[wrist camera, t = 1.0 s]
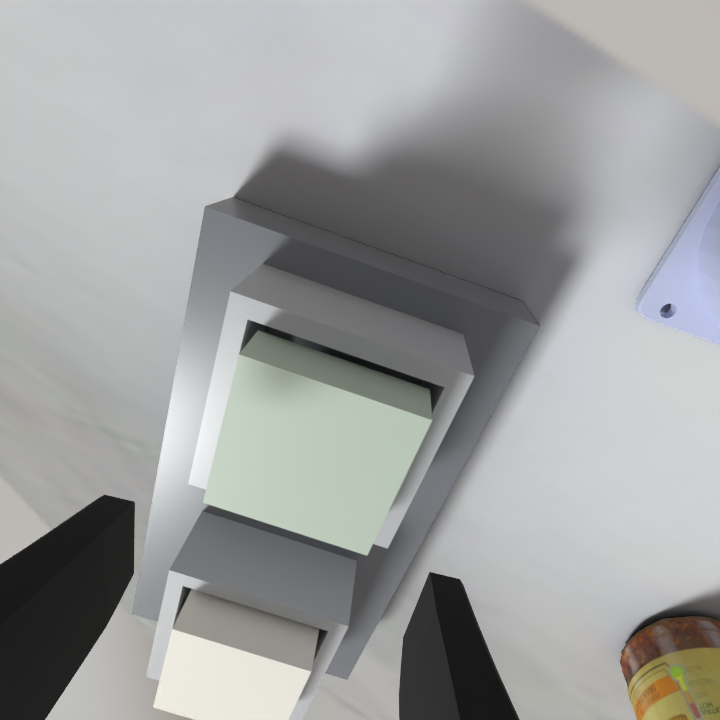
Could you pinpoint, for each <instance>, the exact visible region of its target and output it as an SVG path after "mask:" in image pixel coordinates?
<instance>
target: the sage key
mask: <svg viewBox="0 0 720 720" xmlns="http://www.w3.org/2000/svg"><path fill="white" fill-rule="evenodd" d="M431 422H432V410H431V396H430V389H427V388H424V387H421V386H419V385H416V384H413V383H410V382H407V381H404V380H401V379H398V378H395V377H392V376H390V375H387V374H384V373H381V372H378V371H375V370H372V369H369V368H366V367H363V366H361V365H358V364H355V363H352V362H349V361H346V360H343V359H340V358H337V357H334V356H332V355H329V354H326V353H323V352H320V351H317V350H314V349H311V348H308V347H305V346H302V345H300V344H297V343H294V342H291V341H288V340H285V339H282V338H279V337H276V336H273V335H271V334H268V333H265V332H262V331H259V330H258V331H257V332H256V333H255V335H254V336H253V337H252V338H251V340H250V341H249V342H248V343H247V345H246V346H245V347H244V349H243V350H242V351H241V352H240V354H239V356H238V360H237V364H236V368H235V372H234V377H233V381H232V385H231V389H230V393H229V397H228V401H227V405H226V410H225V414H224V418H223V422H222V426H221V430H220V434H219V438H218V442H217V447H216V451H215V455H214V459H213V463H212V467H211V471H210V475H209V480H208V484H207V488H206V492H205V496H204V500H203V503H206V504H209V505H212V506H215V507H218V508H221V509H224V510H227V511H230V512H233V513H236V514H240V515H243V516H246V517H249V518H252V519H255V520H258V521H261V522H264V523H267V524H271V525H274V526H277V527H280V528H283V529H286V530H289V531H292V532H295V533H298V534H302V535H305V536H308V537H311V538H314V539H317V540H320V541H323V542H326V543H329V544H333V545H336V546H339V547H342V548H345V549H348V550H351V551H354V552H357V553H360V554H363V555H368V553H369V551H370V549H371V547H372V545H373V543H374V541H375V538H376V536H377V534H378V532H379V530H380V528H381V526H382V524H383V522H384V520H385V518H386V516H387V514H388V511H389V509H390V507H391V505H392V503H393V501H394V499H395V497H396V495H397V493H398V491H399V489H400V486H401V484H402V482H403V480H404V478H405V476H406V474H407V472H408V470H409V468H410V466H411V464H412V462H413V459H414V457H415V455H416V453H417V451H418V449H419V447H420V445H421V443H422V441H423V439H424V437H425V434H426V432H427V430H428V428H429V426H430V424H431Z"/></svg>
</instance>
